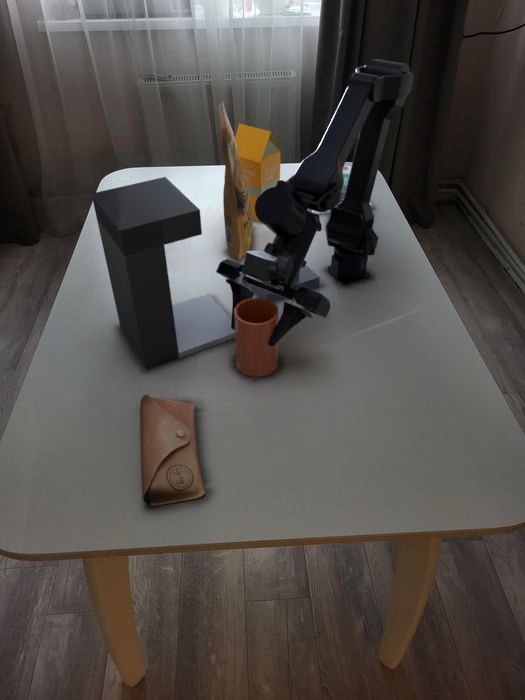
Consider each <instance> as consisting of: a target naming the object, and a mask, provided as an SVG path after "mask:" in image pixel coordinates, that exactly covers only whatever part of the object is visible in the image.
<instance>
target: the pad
mask: <svg viewBox="0 0 525 700" xmlns="http://www.w3.org/2000/svg"><path fill="white" fill-rule="evenodd" d="M320 279H321V277H320V275H318V274H317V273H316V272H314V270H312V269H311V268H310V267H309V266H308V265H307V264H306V265H305V268H303V267H301V269H300V271H299V273H298V276H297V278H296V280H295V283H294V284H295V285H297V286H296V288H295V289H296V290H298V289H299V288H300V287H301V286H302V287H304V288H307V289H310V290H313V289H314V288H317V287H319V286H320ZM264 282H266V281H264ZM267 283H269V284H270V283H271V282H267ZM264 285H265V284H264ZM277 287H280V288H281V290H283V289H284V287H282V286H279V285H278V286H277ZM250 288H251V289H252V291H253V292H254V293H256V294H257V295H258V296H259V298H263V299H268V300H270V301H272V302H274V303H275V302H276V301H277V302H278V301H279V300H282V299H285V298H284V297H282V296H279V295H277V294H274V293H272V292H269V291H267V290H264V289H261V288H259V287H256V286H254V285H251V287H250Z"/></svg>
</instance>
